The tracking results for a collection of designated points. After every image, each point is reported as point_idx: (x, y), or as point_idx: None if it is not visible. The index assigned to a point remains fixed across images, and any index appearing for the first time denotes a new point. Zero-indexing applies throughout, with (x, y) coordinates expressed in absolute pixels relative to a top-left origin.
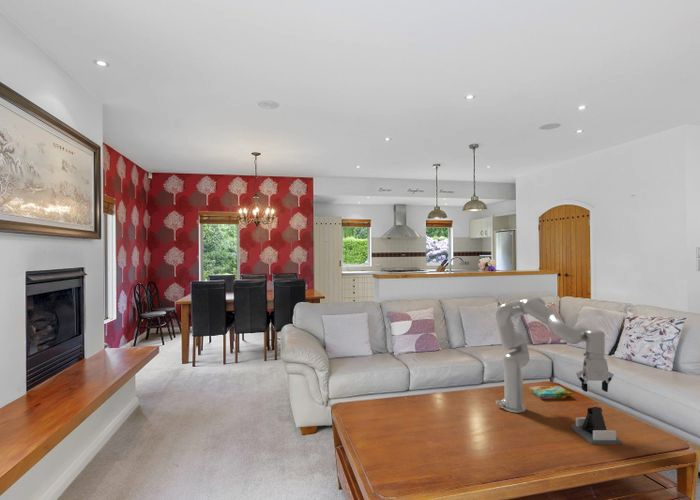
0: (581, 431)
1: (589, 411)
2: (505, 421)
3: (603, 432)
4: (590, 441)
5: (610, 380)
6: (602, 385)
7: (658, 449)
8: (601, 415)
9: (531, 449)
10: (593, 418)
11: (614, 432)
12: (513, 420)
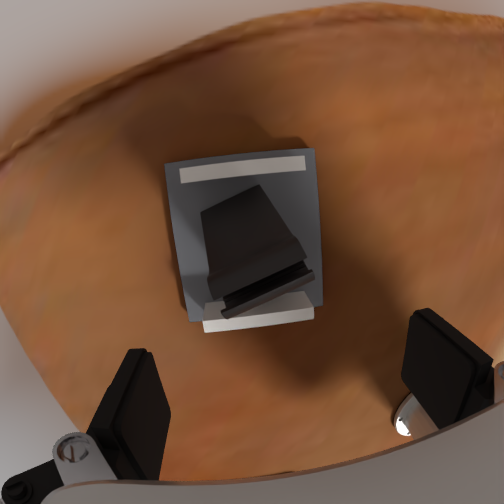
0: (311, 241)
1: (295, 275)
2: (494, 305)
3: (252, 160)
4: (313, 154)
5: (29, 473)
6: (159, 446)
7: (50, 148)
8: (215, 262)
9: (500, 124)
10: (286, 225)
11: (188, 167)
12: (474, 318)
